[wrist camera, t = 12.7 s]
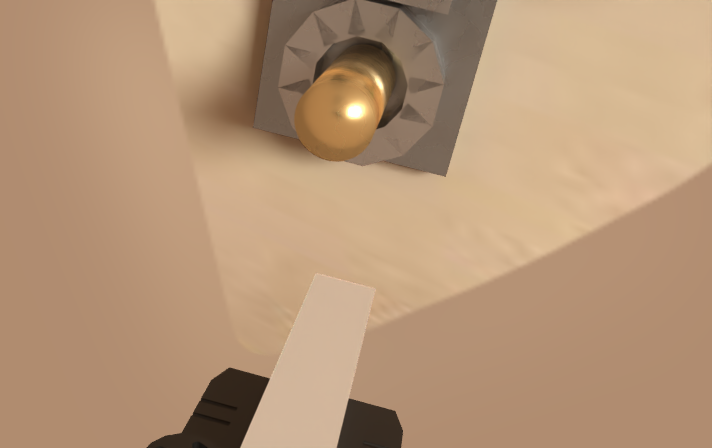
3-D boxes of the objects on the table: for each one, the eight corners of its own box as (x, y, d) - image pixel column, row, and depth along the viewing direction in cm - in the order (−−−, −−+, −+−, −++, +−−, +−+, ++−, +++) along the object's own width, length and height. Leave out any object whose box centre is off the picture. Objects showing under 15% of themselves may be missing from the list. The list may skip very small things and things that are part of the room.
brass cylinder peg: (337, 38, 41) (300, 73, 32) (401, 51, 40) (382, 91, 32) (327, 101, 42) (289, 151, 34) (388, 114, 42) (366, 168, 33)
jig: (308, -180, 38) (289, -193, 34) (531, -128, 38) (540, -135, 33) (261, 119, 46) (241, 138, 42) (446, 166, 45) (444, 190, 41)
